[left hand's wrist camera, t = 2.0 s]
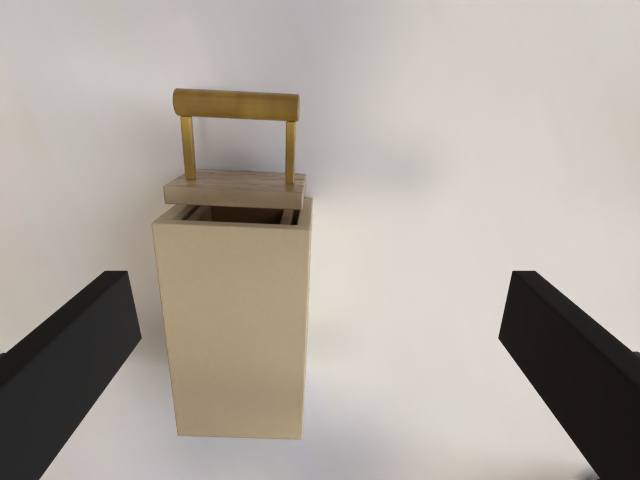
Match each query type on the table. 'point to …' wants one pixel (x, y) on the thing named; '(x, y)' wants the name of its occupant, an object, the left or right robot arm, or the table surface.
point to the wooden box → (235, 322)
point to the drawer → (237, 186)
